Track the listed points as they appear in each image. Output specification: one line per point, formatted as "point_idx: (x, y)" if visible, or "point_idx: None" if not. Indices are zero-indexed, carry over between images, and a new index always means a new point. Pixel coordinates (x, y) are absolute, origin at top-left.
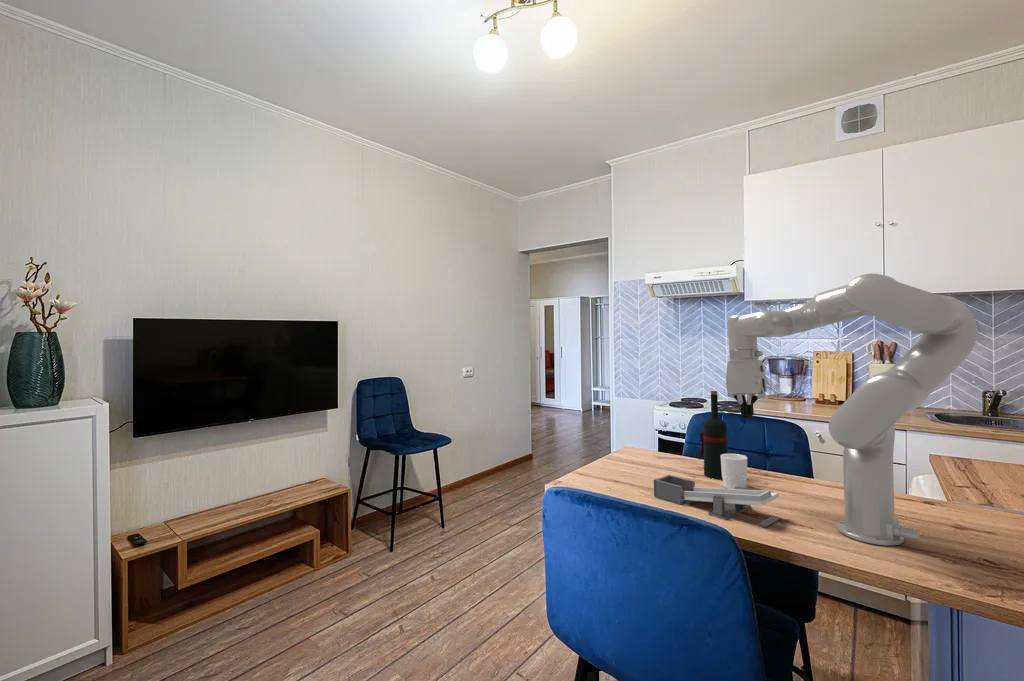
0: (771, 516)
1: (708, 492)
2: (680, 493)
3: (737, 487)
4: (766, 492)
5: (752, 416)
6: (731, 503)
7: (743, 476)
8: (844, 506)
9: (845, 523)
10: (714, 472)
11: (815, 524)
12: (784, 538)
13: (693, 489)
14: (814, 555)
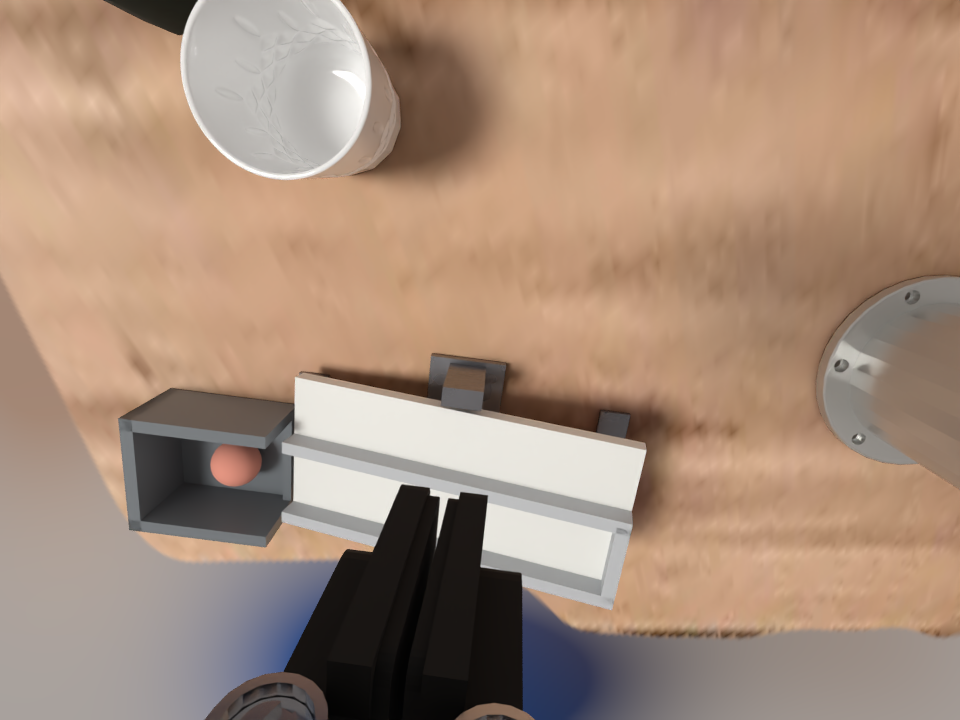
0: (599, 424)
1: None
2: (278, 528)
3: (452, 403)
4: (622, 552)
5: (486, 499)
6: (439, 395)
7: (387, 134)
8: (904, 419)
9: (859, 406)
10: (177, 18)
11: (742, 388)
12: (667, 564)
13: (279, 431)
14: (753, 621)
